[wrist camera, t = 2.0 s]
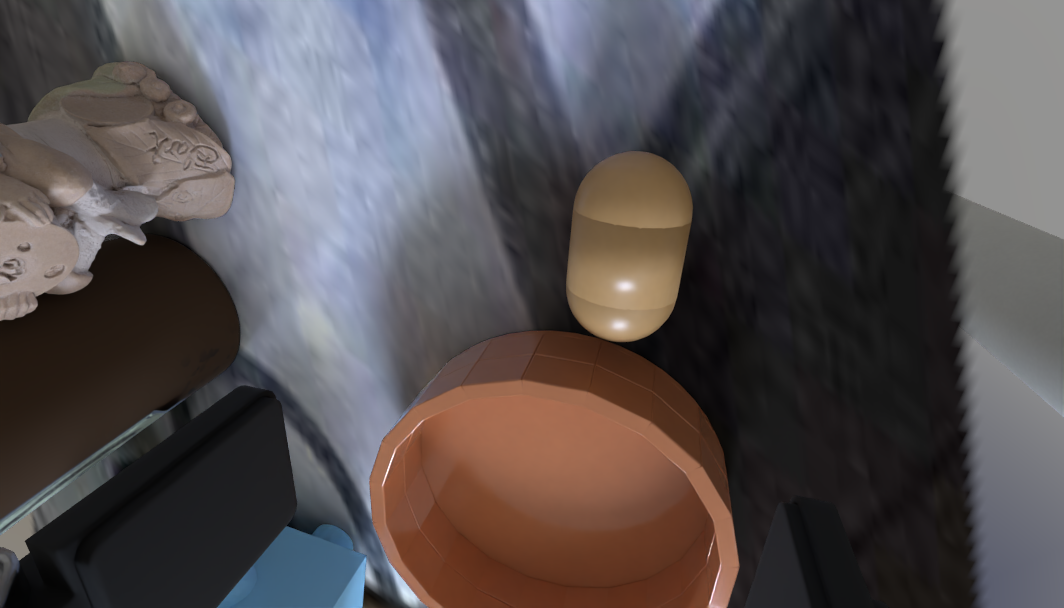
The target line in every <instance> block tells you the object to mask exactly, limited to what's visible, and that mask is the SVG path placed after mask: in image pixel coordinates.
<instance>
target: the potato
mask: <svg viewBox="0 0 1064 608" xmlns="http://www.w3.org/2000/svg"><path fill="white" fill-rule="evenodd" d="M692 212H693V204H692V196H691V193H690V190H689V187H688V184H687V183H686V181H685V179H684V178H683V176H682V174H681V173H680V172H679V171H678V170H677V169H676V168H675V167H674V166H673V165H672V164H671V163H670V162H668V161H667V160H665V159H664V158H662V157H660V156H657V155H654V154H652V153H648V152H642V151H628V152H622V153H618V154H615V155H613V156H610V157H608V158H606V159H604V160H603V161H601V162H600V163H598V164H597V165H595V166H594V167H593V168H592V169H591V170H590V171H589V172H588V173H587V175H586V176H585V178H584V179H583V181H582V182H581V184H580V186H579V189H578V191H577V194H576V197H575V202H574V206H573V216H572V226H571V237H570V247H569V258H568V268H567V278H566V294H567V299H568V303H569V306H570V309H571V311H572V313H573V315H574V316H575V318H576V319H577V320H578V322H579V323H580V324H581V325H582V326H583V327H584V328H585V329H586V330H588V331H589V332H590V333H592V334H593V335H595V336H597V337H599V338H602V339H605V340H608V341H613V342H631V341H636V340H639V339H641V338H644V337H647V336H649V335H650V334H652V333H653V332H655V331H656V330H658V329H659V328H660V327H661V326H662V325H663V323H664V322H665V321H666V320H667V319H668V318H669V316H670V314H671V312H672V311H673V309H674V305H675V302H676V299H677V295H678V290H679V285H680V279H681V274H682V269H683V264H684V258H685V253H686V248H687V243H688V237H689V232H690V227H691V221H692Z"/></svg>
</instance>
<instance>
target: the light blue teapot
mask: <svg viewBox="0 0 1064 608" xmlns="http://www.w3.org/2000/svg"><path fill="white" fill-rule="evenodd" d="M366 556H367V555H364V554H361V553H359V552H356V551H353V543H352V540H351V538H350V537H349V536H348V535H347V533H346V532H344V531H343V530H342V529H340V528H338V527H336V526H333V525H329V524H324V525H320V526H319V527H317V529H316V530H315V531H314V532H313V533H312V535H309V534H307V533H304V532H301V531H298V530H296V529H293V528H290V527H287V526H286V527H285V528H284V529H283V530H282V532H281V533H280V534H279V535H278V536H277V538H276V539H275V540H274V541H273V542H272V543H271V545H270V546H269V547H268V548H267V549H266V550H265V552H264V553H263V554H262V555H261V556H260V558H259V559H258V560H257V561H256V562H255V563H254V565H253V566H252V567H251V568H250V569H249V570H248V572H247V573H246V574H245V575H244V576H243V578H242V579H241V580H240V581H239V582H238V583H237V585H236V586H235V587H234V588H233V589H232V591H231V592H230V593H229V594H228V595H227V596H226V598H225V599H224V600H223V601H222V602H221V603H220V605H219V606H218V607H217V608H362V607H363V594H364V582H365V569H366Z"/></svg>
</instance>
